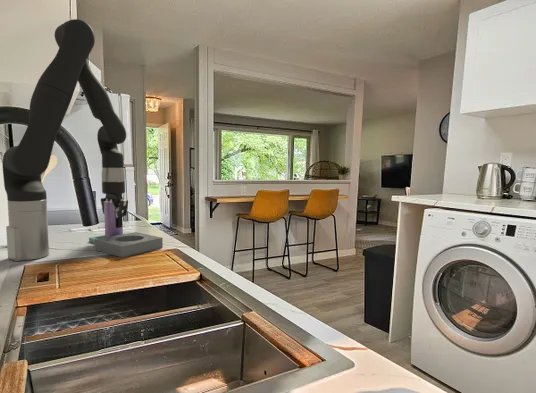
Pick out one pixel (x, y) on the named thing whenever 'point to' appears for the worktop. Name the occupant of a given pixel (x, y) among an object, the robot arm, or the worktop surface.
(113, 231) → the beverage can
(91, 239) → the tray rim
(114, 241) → the socket block
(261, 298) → the worktop surface
